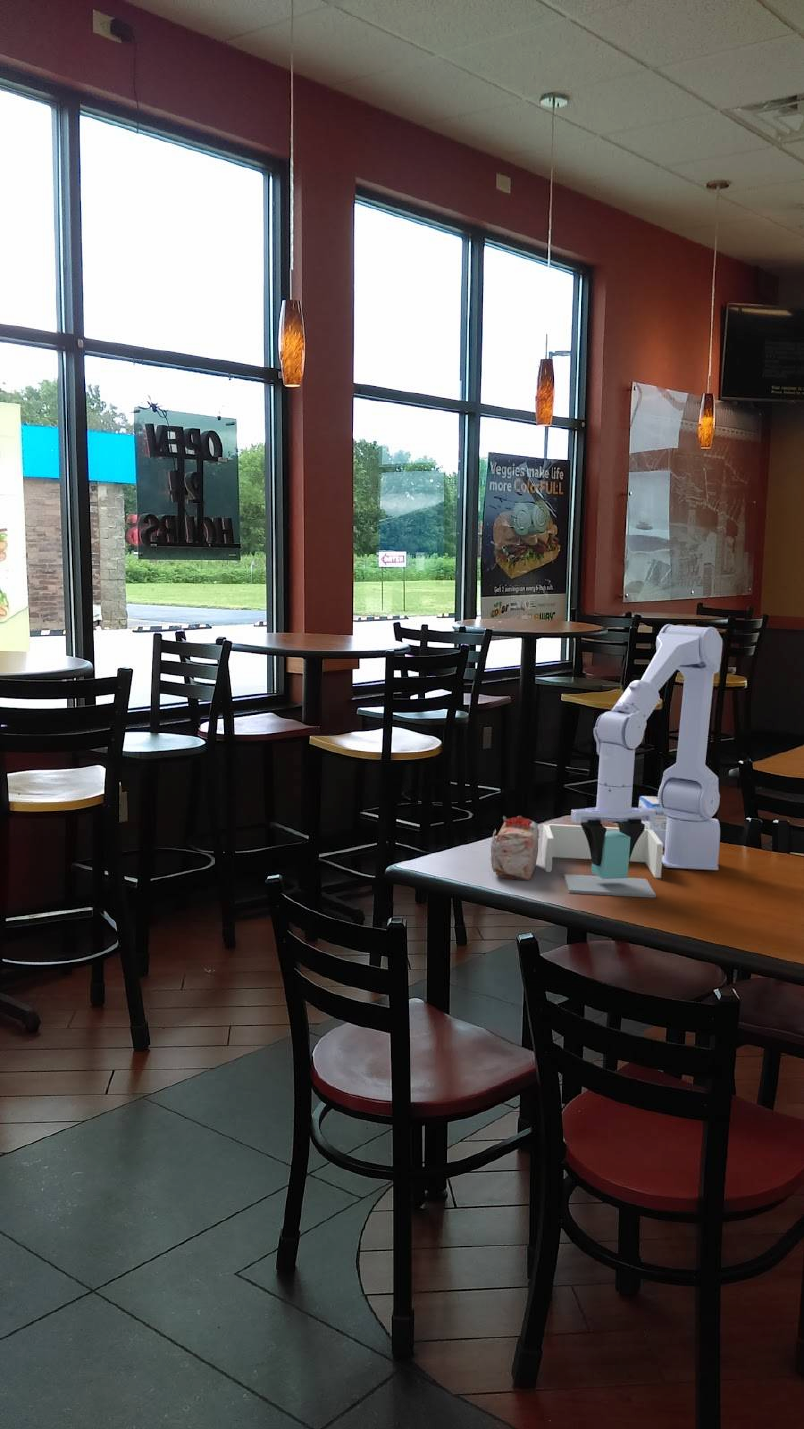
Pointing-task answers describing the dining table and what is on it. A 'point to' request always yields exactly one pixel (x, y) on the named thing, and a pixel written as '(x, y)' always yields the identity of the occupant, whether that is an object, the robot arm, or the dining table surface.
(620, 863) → the teal block
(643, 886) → the slate mat
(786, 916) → the dining table surface
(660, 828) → the medicine box
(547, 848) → the open folding screen
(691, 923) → the dining table surface
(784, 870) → the dining table surface
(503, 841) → the food item
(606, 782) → the robot arm
